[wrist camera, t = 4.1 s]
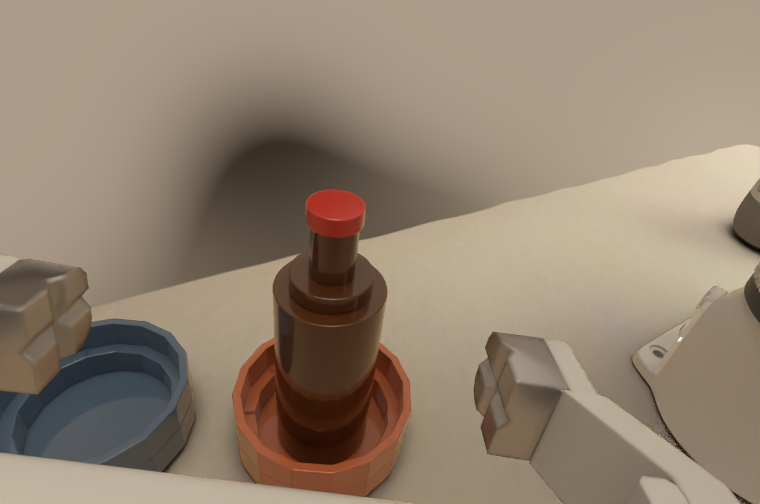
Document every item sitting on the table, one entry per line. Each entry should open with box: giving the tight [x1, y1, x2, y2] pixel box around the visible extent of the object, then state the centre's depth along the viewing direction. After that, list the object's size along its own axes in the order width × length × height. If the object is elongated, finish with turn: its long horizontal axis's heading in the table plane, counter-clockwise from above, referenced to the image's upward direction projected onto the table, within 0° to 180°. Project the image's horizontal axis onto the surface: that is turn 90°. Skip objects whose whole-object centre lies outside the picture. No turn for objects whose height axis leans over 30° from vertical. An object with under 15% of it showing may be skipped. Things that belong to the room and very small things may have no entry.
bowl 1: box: [0, 319, 196, 472], centre depth 29 cm, size 11×11×4 cm
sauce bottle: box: [273, 190, 387, 465], centre depth 27 cm, size 6×6×18 cm
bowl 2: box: [232, 338, 411, 497], centre depth 31 cm, size 11×11×4 cm
